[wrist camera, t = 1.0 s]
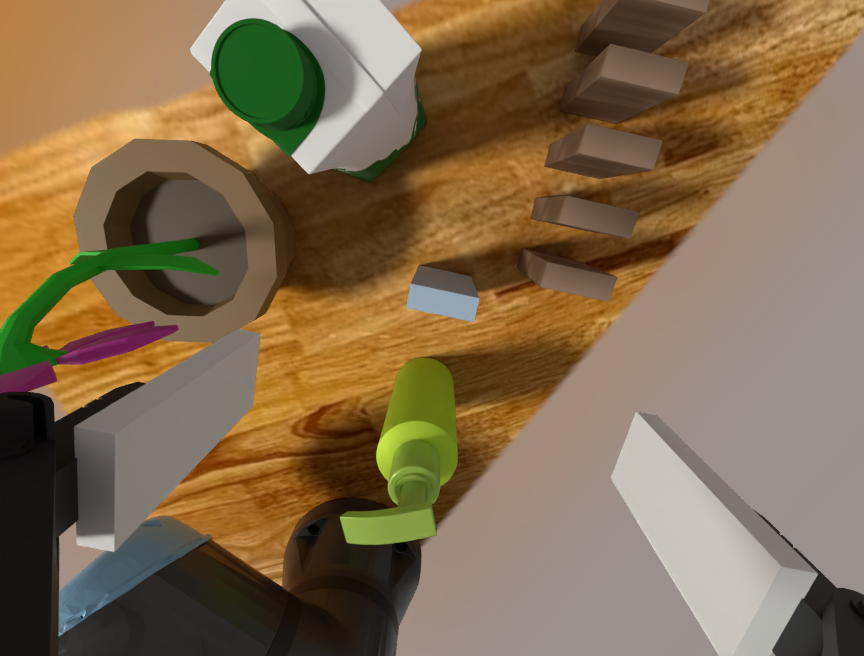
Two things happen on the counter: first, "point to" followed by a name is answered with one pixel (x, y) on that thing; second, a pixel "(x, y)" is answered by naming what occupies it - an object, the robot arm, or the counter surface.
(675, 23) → the domino
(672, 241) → the counter surface
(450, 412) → the soap dispenser
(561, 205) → the domino
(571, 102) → the domino
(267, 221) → the flowerpot
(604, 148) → the domino
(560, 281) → the domino
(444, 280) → the domino
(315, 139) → the milk carton
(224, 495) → the counter surface
